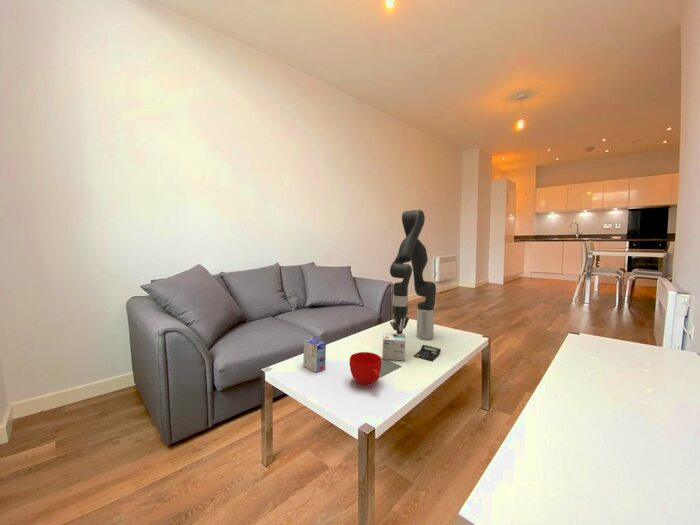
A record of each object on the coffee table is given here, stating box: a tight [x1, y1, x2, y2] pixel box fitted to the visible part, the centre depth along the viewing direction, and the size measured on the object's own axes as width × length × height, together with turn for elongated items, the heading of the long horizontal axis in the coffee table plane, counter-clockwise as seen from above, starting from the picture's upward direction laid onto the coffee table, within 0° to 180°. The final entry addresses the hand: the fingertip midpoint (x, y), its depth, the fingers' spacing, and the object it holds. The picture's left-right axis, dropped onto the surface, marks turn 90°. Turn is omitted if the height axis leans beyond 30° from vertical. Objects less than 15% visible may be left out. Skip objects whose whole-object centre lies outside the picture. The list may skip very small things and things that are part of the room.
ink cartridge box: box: [303, 334, 327, 373], centre depth 132 cm, size 10×6×14 cm, turn 46°
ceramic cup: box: [349, 351, 382, 387], centre depth 119 cm, size 13×17×10 cm
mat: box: [349, 357, 403, 379], centre depth 136 cm, size 16×18×1 cm
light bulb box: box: [381, 332, 406, 361], centre depth 143 cm, size 11×7×11 cm, turn 84°
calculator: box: [413, 344, 442, 362], centre depth 148 cm, size 9×12×3 cm
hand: (399, 337), depth 147 cm, fingers closed
